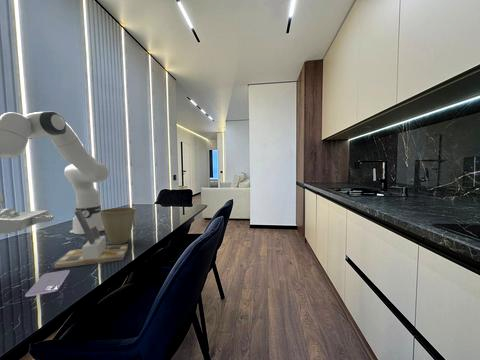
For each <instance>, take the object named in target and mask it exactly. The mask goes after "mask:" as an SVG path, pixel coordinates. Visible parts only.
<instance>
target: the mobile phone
mask: <svg viewBox="0 0 480 360" xmlns="http://www.w3.org/2000/svg"><path fill="white" fill-rule="evenodd" d="M69 274H70V270H69V269H65V270H58V271H57V270H56V271H52V272H47V273H43V274H42V275H41V276H40V277H39V278H38V279H37V281H36V282H35V283H34V284H33V285H32V287H30V288H29V290H28V291H27V292H26V293H25V295H24V297H27V298H29V297H33V296H34V297H35V296H38V295H44V294H45V295H46V294H50V293H54V292H56V291H58V290H59V289H60V287H62V284H63V283H64V281H65V280H66V278H67V276H68V275H69Z"/></svg>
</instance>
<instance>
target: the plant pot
mask: <svg viewBox="0 0 480 360" xmlns="http://www.w3.org/2000/svg"><path fill="white" fill-rule="evenodd" d="M100 213H101V218H102V223H103V226H104V229H105V230H104V233H105V236H106V238H107V239H108V241H109V243H110V245H112V246H115V245H124V244H127V242H128V241H129V238H130V236H131V233H132V229H133V225H134V222H135V221H134V219H135V215H136V208H135V207H123V206H122V207H112V208H106V209H101V211H100Z"/></svg>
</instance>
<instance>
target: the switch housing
mask: <svg viewBox="0 0 480 360" xmlns="http://www.w3.org/2000/svg"><path fill="white" fill-rule="evenodd" d="M106 246H107V235H100V236H99V237H98V238H97V239H96V240H95V241H94V242H93V244H89V241H88V240H87V242H85V244H84V245H83V246H82V247H81V249H82V256H83V260H88V259H97V258H99V256H100V255H101V254H102V252H103V251H104V249H105V248H106Z"/></svg>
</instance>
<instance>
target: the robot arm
mask: <svg viewBox="0 0 480 360" xmlns="http://www.w3.org/2000/svg"><path fill="white" fill-rule="evenodd" d="M44 138H49V139H50V141H51V142H52V144H53V146H54V147H55V149H56V150H57V151H58V153H59V155H61V158H62V159H63V160H64V161H66V162H67V163H69V165H67V166H66V167H65V168H64V171H63V172H64V173H63V175H64V177H65V179H67V180H68V181H69V182H70V184H71V186H72V189H73V191H74V194H75V204H76V207H75V211H74V213H75V212H76V211H78V210H81V211H82V213H83V215H84V217H85V219H86V221H87V224H88V226H89V228H90V230H91V228H92V227H94V226H96V227H97V230H98V232H99V233H100V232H102V231H105V229H104V226H103V223H102V218H101V213H100V211H101V210H102V208H101V207H102V206H101V205H100V192H99V191H98V190H97V189H96V188H95V187H94V185H93V183H100V182H104V181H106V180H107V179H108V177H109V173H110V172H109V167H108V166H106V165H105V164H104V163H101V162H100V161H98V160H97V159H96V158H94V157H93V156H92V155H91V154H90V153H89V152H88V150H87V149H86V148H85V146H84V145H83V143H82V142H81V140H80V139H79V136H78V135H77V134H76V132H75V131H74V130H73V128H72V127H71V126H70V125H69V124H68V123H67V122H66V120H65V118H64V117H63V116H62V115H61V114H60V113H58V112H56V111H51V110H46V111H38V112H37V111H36V112H31V113H28V114H24V115H23V114H21V113H18V112H13V111H10V112H9V111H8V112H5V113H3V114H1V115H0V159H13V158H17V157H19V156H21V155H22V154H23V152H24V151H25V149H26V147H27V144H28V142H29V140H30V139H44ZM3 202H4V196H3V194H2V192H0V235H9V234H10V235H11V234H12V233H15V232H20V231H23V230H25V229H28V228H29V227H32V226H34V225H38V224H41V223H48V222H52V221H53V220H54V215H52V214H51V215H50V214H49V210H47V209H46V210H44V209H43V210H42V209H41V210H31V211H24V212H20V213H19V211H15V210H14V208H1V207H2V205H3ZM91 232H92V231H91ZM69 233H70V234H75V235H86V234H85V232H84V230H83V228H82V226H81V224H80V222H79V220H78V218H77V216H76V215H75V216H73V217H72V229H70V230H69Z"/></svg>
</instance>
